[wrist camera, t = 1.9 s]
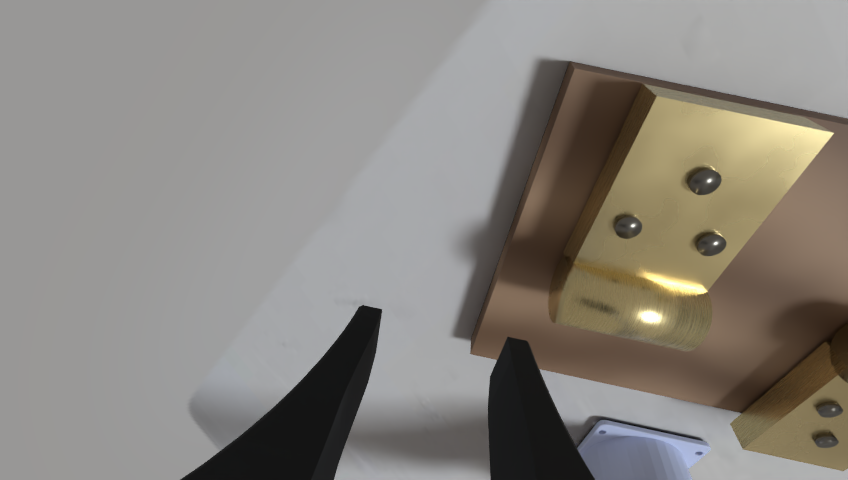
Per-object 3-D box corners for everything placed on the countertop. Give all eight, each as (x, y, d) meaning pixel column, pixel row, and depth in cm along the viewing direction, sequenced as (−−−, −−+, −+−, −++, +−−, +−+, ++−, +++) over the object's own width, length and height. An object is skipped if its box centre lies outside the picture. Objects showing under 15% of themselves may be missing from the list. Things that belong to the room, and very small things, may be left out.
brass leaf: (658, 314, 21) (681, 365, 19) (545, 290, 21) (552, 337, 19) (804, 117, 15) (869, 152, 12) (642, 83, 15) (674, 111, 12)
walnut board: (841, 419, 26) (854, 437, 25) (471, 339, 26) (470, 353, 25) (1177, 186, 16) (1221, 202, 15) (569, 61, 16) (574, 68, 15)
